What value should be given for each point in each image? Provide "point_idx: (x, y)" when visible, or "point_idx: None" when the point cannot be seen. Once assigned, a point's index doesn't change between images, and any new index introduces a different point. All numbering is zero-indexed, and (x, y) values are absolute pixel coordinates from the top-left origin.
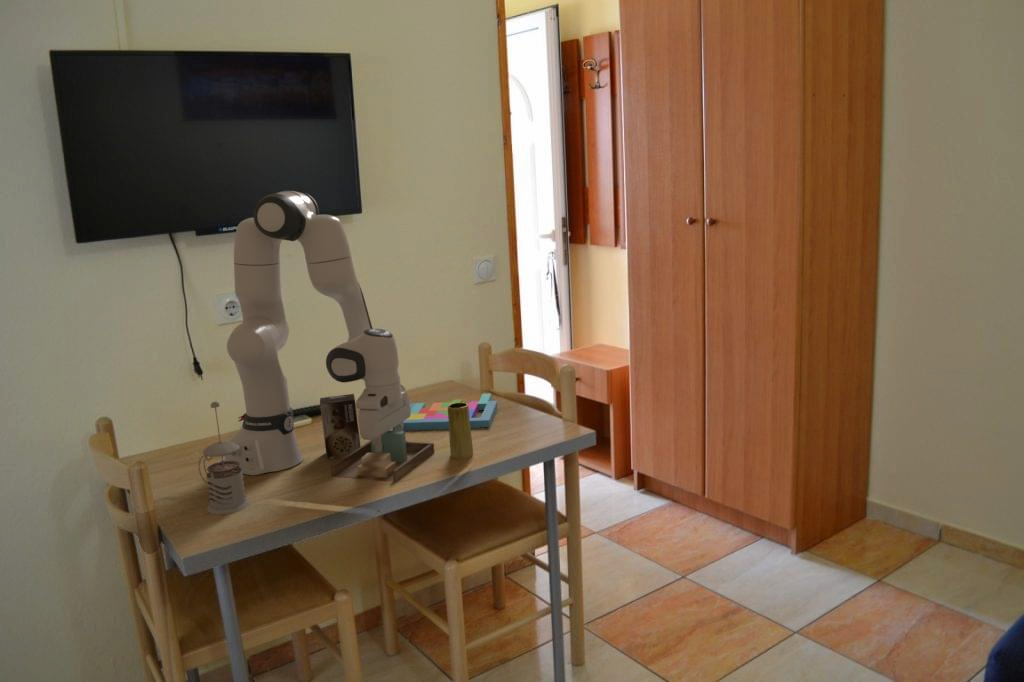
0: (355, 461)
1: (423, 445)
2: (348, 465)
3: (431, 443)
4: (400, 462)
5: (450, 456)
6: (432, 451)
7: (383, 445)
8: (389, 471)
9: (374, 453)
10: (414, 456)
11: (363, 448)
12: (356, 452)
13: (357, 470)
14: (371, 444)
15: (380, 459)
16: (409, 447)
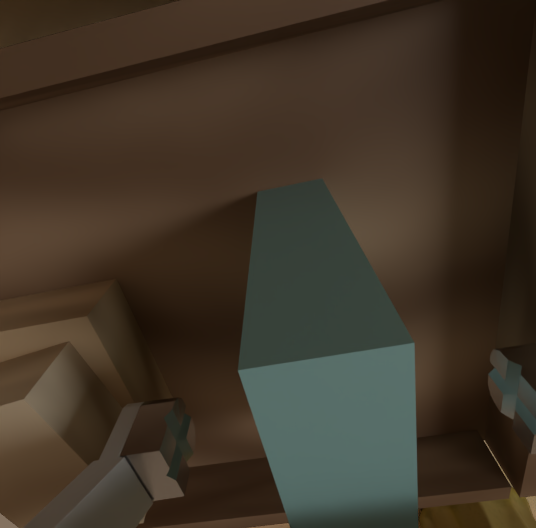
0: (142, 76)
1: (518, 442)
2: (24, 103)
3: (532, 488)
4: None
5: (450, 509)
6: (490, 447)
7: (177, 485)
8: None
9: (58, 452)
10: (283, 519)
11: (317, 20)
12: (150, 62)
13: (33, 241)
14: (251, 255)
15: (25, 522)
16: (518, 343)
